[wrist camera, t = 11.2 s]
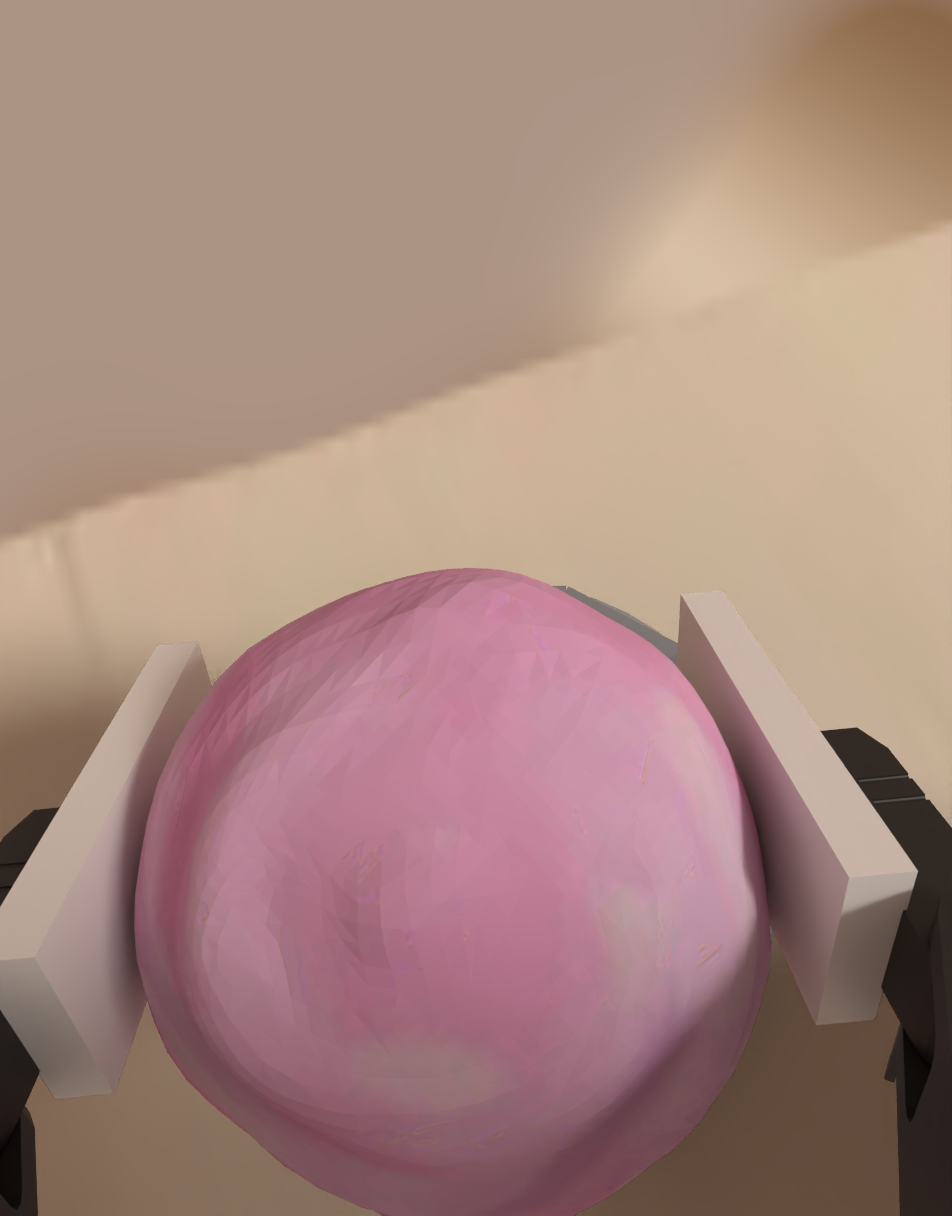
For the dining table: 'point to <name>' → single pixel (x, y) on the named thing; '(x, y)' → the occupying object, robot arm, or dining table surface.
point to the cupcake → (455, 899)
